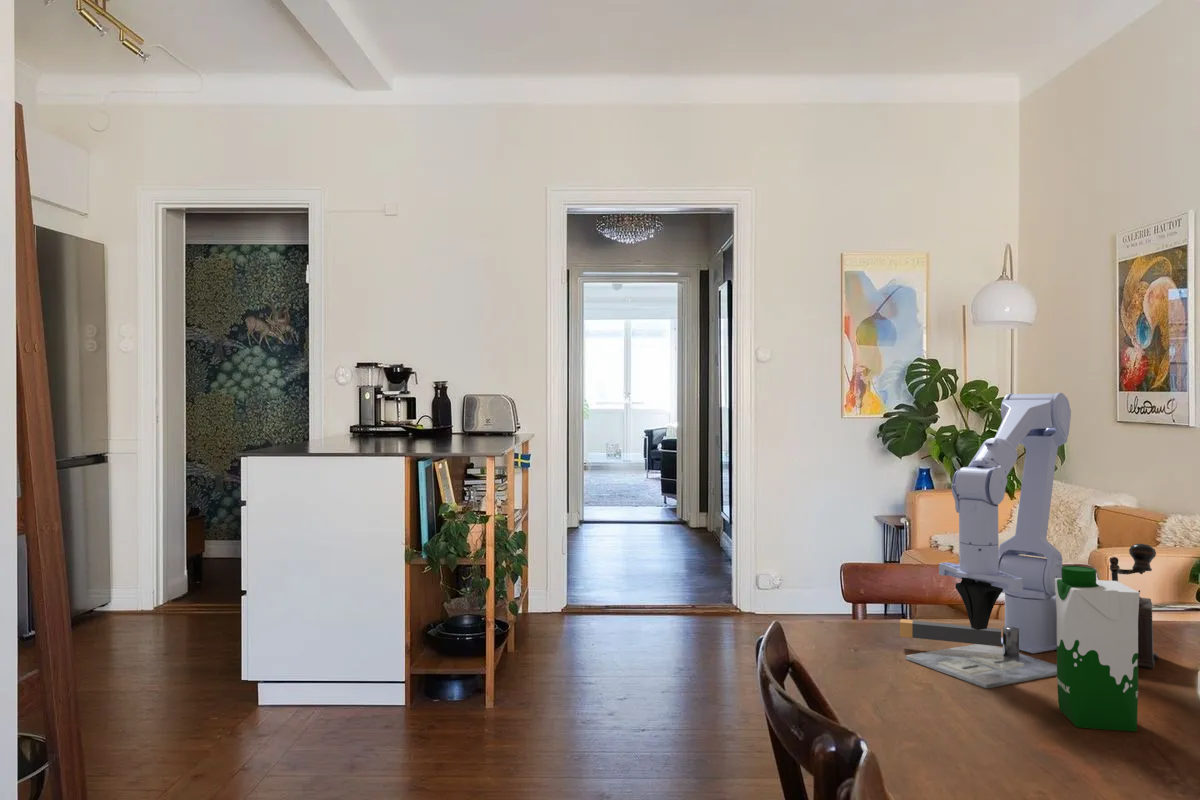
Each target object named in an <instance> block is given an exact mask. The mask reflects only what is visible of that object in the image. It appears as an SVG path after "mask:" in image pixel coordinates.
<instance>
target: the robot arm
mask: <svg viewBox="0 0 1200 800" xmlns="http://www.w3.org/2000/svg"><path fill="white" fill-rule="evenodd" d="M1000 416H1001V423H1000V426H999V427H998V429H997V431H996V434H995V436H994V437H991V438H987V439H986V440H984V441H983V443H982V444H981V446H980V447H979V448H978V450H977V452H976V454H974V456H973V458H972V459H971V461H970V462H969V464H968V466H963V467H961V468H960V469H957V470H956V471H955V472H954V474H953V476H952V483H951V493H952V496H953V499H954V503H955V507H954V509H955V511H956V513H958V533H959V534H958V538H959V539H958V541H959V543H958V544H959V545H958V546H959V547H958V553H959V554H958V556H959V563H954V562H949V561H947V562H940V563H938V575H939V576H943V577H944V576H948V577H952V578H957V579H961V580H960V582H956V583H955V589H956V590H957V592H958V594H959V596H960V598H961V600H962V601H963V604H964V606H965V608H966V613H967V616H968V620H969V624H970V626H971V628H973V629H976V630H982V629H987V628H988V625H989V621H990V618H991V615H992V611H993V610H994V609H993V608H994V607H995V604H996V602H997V601H998V598H999V597H1000V596H1001V594H1002V593H1003V594H1004V627H1005V626H1011V627H1016V628H1019V651H1023V652H1026V653H1030V654H1038V653H1043V652H1049V651H1050V652H1051V651H1054V650H1056V651H1057V608H1056V591H1055V578H1062V567H1063V555H1062V553H1061V552H1060V550H1059V549H1057V548H1056V546H1054V545H1053V544H1052V543H1050V542H1049V541H1048V540H1047V537H1048V531H1049V530H1048V528H1049V522H1050V521H1049V520H1050V512H1051V511H1050V510H1051V504H1052V495H1053V488H1054V479H1055V469H1056V461H1057V454H1058V449H1059V447H1061V446H1063V445H1065V444H1066V443H1068V437H1069V435H1070V428H1071V427H1070V425H1071V420H1072V419H1071V418H1072V410H1071V407H1070V401H1069V399H1068V397H1067V396H1066V395H1065V393H1063V392H1056V393H1013V392H1009V393H1007V394H1006V395H1005V397H1004V398H1003V399H1002V401H1001V405H1000ZM1019 445H1023V446H1024V448H1025V455H1024V456H1025V457H1024V464H1023V471H1022V472H1023V473H1022V479H1021V488H1020V495H1019V502H1018V511H1017V519H1016V525H1015V526H1016V527H1015V535H1013V536H1011V537H1010V538H1009V539H1007V540H1005V541H1003V542H1002V543H1000V544H999V505H1000V504H1001V503H1002V501H1003V500H1004V499H1005V495H1006V487H1007V485H1008V478H1007V477H1008V475H1009V473H1010V472H1011V470H1012V469H1013V468H1014V465H1015V464H1016V462H1017V461H1018V458H1019V457H1018V451H1017V447H1018V446H1019ZM1001 646H1003V637H1001Z"/></svg>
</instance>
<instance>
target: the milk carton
mask: <svg viewBox="0 0 1200 800" xmlns="http://www.w3.org/2000/svg"><path fill="white" fill-rule="evenodd" d="M1055 591H1056V595H1055V596H1056V608H1057V649H1056V665H1057V675H1056V684H1057V699H1058V700H1057V701H1058V709H1059V711H1061V713H1062V714H1063V715H1064V716H1065V717H1066V718H1068V720H1069V721H1070V722H1071V724H1073V725H1074V726H1075V727H1076V728H1079V729H1081V728H1082V729H1092V730H1093V729H1095V730H1108V731H1109V730H1111V731H1122V732H1125V731H1126V732H1136V733H1137V731H1138V706H1139V705H1138V704H1139V701H1138V700H1139V668H1138V612H1139V596H1140V594H1141V592H1138V591H1139V590H1135V589H1133V588H1131V587H1130V586H1128V585H1126V584H1124V583H1121V581H1120V582H1119V580H1118V581H1112V580H1105V579H1104V580H1103V579H1102V580H1101V579H1100V580H1099V579H1097V569H1095V568H1093V567H1089V566H1082V565H1064V566H1063V565H1062V578H1055ZM1140 597H1141V596H1140Z"/></svg>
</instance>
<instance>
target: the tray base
mask: <svg viewBox="0 0 1200 800" xmlns="http://www.w3.org/2000/svg"><path fill="white" fill-rule="evenodd" d="M1002 638H1003V645H1002V647H1000V646H990V645H980V644H969V645H963V646H957V647H951V648H944V649H943V648H942V649H938V650H937V649H936V650H932V651H931V650H930V651H924V652H918V653H912V654H907V655H905V660H907V661H910V662H913V663H915V664H918V665H921V666H924V667H925V668H926V667H927V668H929V669H931V670H934V671H936V672H939V673H943V674H945V675H948V676H951V677H954V678H956V679H959V680H962V681H965V682H966V683H970V684H972V685H975V686H978V687H980V688H984V689H991V688H992V689H993V688H997V687H1003V686H1007V685H1012V684H1017V683H1023V682H1029V681H1032V680H1039V679H1045V678H1050V677H1055V676H1057V664H1055V663H1051V662H1049V661H1046V660H1042V659H1038V658H1035V657H1033V656H1029V655H1025V654H1022V653H1020V650H1019V628H1016V627H1011V626H1005V625H1004V626H1003V627H1002Z"/></svg>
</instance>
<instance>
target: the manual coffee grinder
mask: <svg viewBox="0 0 1200 800" xmlns="http://www.w3.org/2000/svg"><path fill="white" fill-rule="evenodd" d="M1128 554H1129V556H1130V557H1131V558H1132V559H1133V561H1134V563H1133V566H1132V568H1131V569H1130V568H1129V569H1123V568H1120V565H1119V561H1120V559H1118V557H1116V556H1112V557H1110V558H1109V562H1110V564H1109V571H1111V581H1118V582H1119V575H1132V574H1140V575H1143V573H1146V572H1152V570H1153V569H1152V568H1151V562H1152V561H1153V559H1155V557H1156V556H1157V551H1156V549H1155V548H1154V547H1152V546H1151V545H1149V544H1145V543H1135V544H1133V545H1131V546H1130V548H1129V550H1128ZM1137 591H1138V592H1139V593H1141V590H1140V589H1139V590H1137ZM1153 625H1154V624H1153V602H1152V598H1150V597H1149V598H1148V597H1141V596H1139V612H1138V669H1147V670H1153V669H1154V668H1155V664H1156V662H1157V661H1158V660H1159V654H1158V653H1157V652H1154V627H1153Z"/></svg>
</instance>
